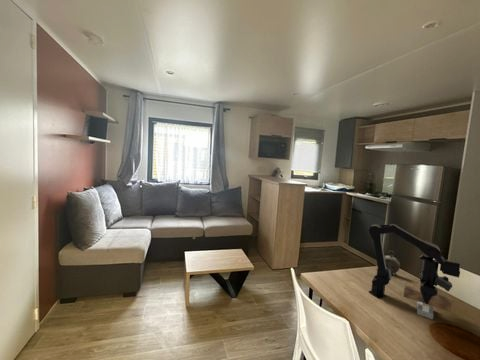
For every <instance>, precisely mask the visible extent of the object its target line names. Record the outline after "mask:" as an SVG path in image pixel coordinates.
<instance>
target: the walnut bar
mask: <svg viewBox="0 0 480 360" xmlns="http://www.w3.org/2000/svg"><path fill="white" fill-rule="evenodd" d="M403 289H404V290H403V298H406V299H409V300H413V301H416V302H418V301H419V302H422V303H425V302H424V299H423V296H422V294H421V291H420V288H417V287H414V286H410V285H406V284H404V288H403ZM428 305H431V306H433V308H434V307H435V308H438V309H441V310H444V311H448V312H452V305H453V300H452V299H451V297H448V296H445V295H442V294H441V295H440V294H438V293H437V296H432V297H431V299H430V301H429V303H428Z"/></svg>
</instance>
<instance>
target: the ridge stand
mask: <svg viewBox="0 0 480 360" xmlns="http://www.w3.org/2000/svg"><path fill="white" fill-rule="evenodd" d="M416 314H417V315H419V316H421V317H425V318H427V319H430V320H434V314H435V313H434V306H431V305H428V304H425V303H422V302H419V301H416Z"/></svg>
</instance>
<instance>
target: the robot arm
mask: <svg viewBox="0 0 480 360" xmlns="http://www.w3.org/2000/svg"><path fill="white" fill-rule="evenodd" d="M368 233H369V235H370V238H371V241H372V242H373V246H374V253H375V260H376V265H377V269H376V274H375V275H374V277H373V278H372V281H371V290H368V292H369V294H371V295H373V296H374V297H376V298H377V299H382V298H386V297H387V294H385V291H386V286H387V285H389V283H390V281H391V279H392V273H390V271H391V269H387V267H386V263H385V257H384V256H385V253H384V247H383V245H384V244H383V241H382V240H383V235H385V234H386V235H387V234H390V233H393V234H394V235H396V236H398V237H400V238H401V239H403V240H405V241H407V242H408V243H410V244H411V245H413V246H415V247H416V248H417V249H418V250H420V251H421V253H423V254H421V255H419V257H418V258H419V260H423V262H422V269H421V271H422V272H421V273H420V276H419V279H420V280H419V281H420V284H419V289H420V291H421V294H422V296H423V299H424V302H425V304H428V303H429V301H430V299H431V297H432V296H437V294H438V292H439V290H438V288H437V286H439V287H440V288H443V289H444V290H445V291H446V292H450V290H451V289H452V288H453V283H452V282H451V281H450V280H449V279H450V278H449V277H447V275H448V276H450V277H451V276H452V277H455V278H460V275H461V271H460V270H461V269H460V265H461V264H460V262H457V261H453V260H448V259H445V258H444V256H443V255H442V254H441V249H440V247H439V246H438V245H436V244H435V243H432V242H430V241H427V240H423V239H421V238H419V237H417V235H413V234H412V233H411V232H409V231H407V230H405V229H403V228H401V227H400V226H398V225H397V224H395V223H391V224H377V223H374V224H372V225H371V226H370V227H369V228H368ZM438 271H441V273H442V274H443V275H444V276H439V273H438Z"/></svg>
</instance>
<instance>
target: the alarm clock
mask: <svg viewBox="0 0 480 360" xmlns="http://www.w3.org/2000/svg"><path fill="white" fill-rule="evenodd" d="M390 252H392V253H393V255H392V254H390ZM394 254H395V252H394V251H393V250H389V251H388V255H384V257H385V263H386V267H387V269H391V271H390V273H391V274H395V276H398V275H397V273H398V272H399V271H400V268H401V263H400V261H399V259H397V258H396V257H394Z"/></svg>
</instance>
